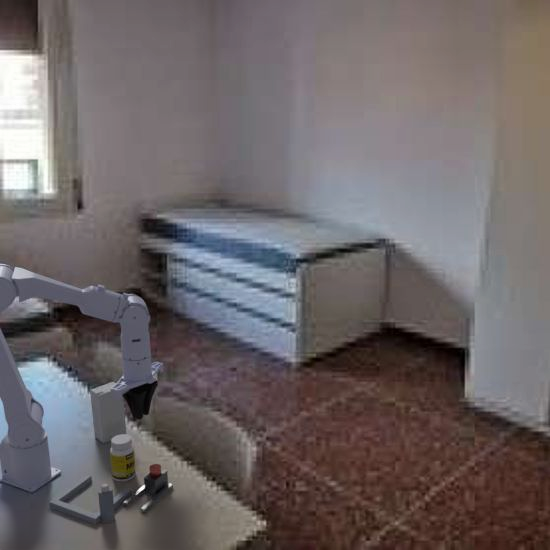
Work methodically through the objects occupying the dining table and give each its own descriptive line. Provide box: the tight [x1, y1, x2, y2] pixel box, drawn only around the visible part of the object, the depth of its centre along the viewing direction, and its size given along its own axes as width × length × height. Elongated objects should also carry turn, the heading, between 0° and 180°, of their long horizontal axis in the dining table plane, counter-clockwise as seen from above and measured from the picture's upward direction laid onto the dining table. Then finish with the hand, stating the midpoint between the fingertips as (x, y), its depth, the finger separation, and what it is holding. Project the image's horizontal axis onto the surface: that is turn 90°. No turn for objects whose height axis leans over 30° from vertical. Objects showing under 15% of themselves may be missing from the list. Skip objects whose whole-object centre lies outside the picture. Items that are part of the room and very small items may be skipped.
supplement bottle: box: [109, 433, 136, 483], centre depth 136 cm, size 5×5×8 cm
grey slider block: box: [143, 463, 169, 497], centre depth 132 cm, size 3×4×5 cm, turn 153°
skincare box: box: [89, 381, 127, 444], centre depth 151 cm, size 6×4×12 cm
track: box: [122, 482, 174, 514], centre depth 130 cm, size 5×9×1 cm, turn 153°
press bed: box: [48, 474, 133, 525], centre depth 128 cm, size 13×10×7 cm
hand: (140, 415), depth 140 cm, fingers closed
